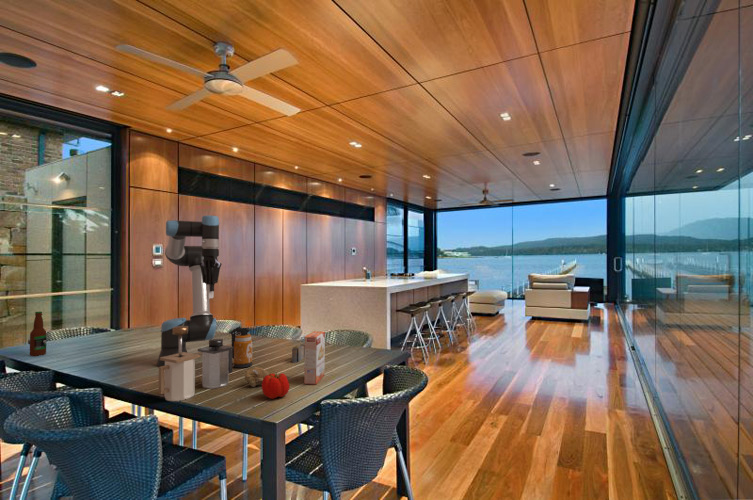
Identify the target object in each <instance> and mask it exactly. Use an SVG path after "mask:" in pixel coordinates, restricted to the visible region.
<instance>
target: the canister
mask: <svg viewBox="0 0 753 500" xmlns="http://www.w3.org/2000/svg"><path fill="white" fill-rule="evenodd" d="M251 331H252V329H251V328H250V327H241V326H239V327H236V328H234V329H233V330H231V331H230V336H231V346H232V347H234V349H232V350H233V351H232V360H233V368H234V367H235V368H237V369H246V368H249V367H250V366H252V365H253V340H252V336H251V334H250V333H249V332H251Z"/></svg>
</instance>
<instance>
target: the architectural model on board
mask: <svg viewBox="0 0 753 500" xmlns="http://www.w3.org/2000/svg"><path fill="white" fill-rule="evenodd" d="M303 358H304V359H305V344H297V345H295V346H293V347H292V348H291V363H293V364H298V362H301V361H302V360H304V359H303ZM300 360H301V361H300Z"/></svg>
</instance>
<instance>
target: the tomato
mask: <svg viewBox="0 0 753 500" xmlns="http://www.w3.org/2000/svg"><path fill="white" fill-rule="evenodd" d="M261 390H262V393H263V395H264V396H265V397H267V398H269V399H272V400H274V399H276V398H283V397H284V396H286V395H287V394H288V393H289V391H290V382H289V379H288V377H287V376H286V374H285V373H283V372H282V373H279V375H278V372H275V373H269V375H267V376H265V377H264V379H263V381H262V385H261Z"/></svg>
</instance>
